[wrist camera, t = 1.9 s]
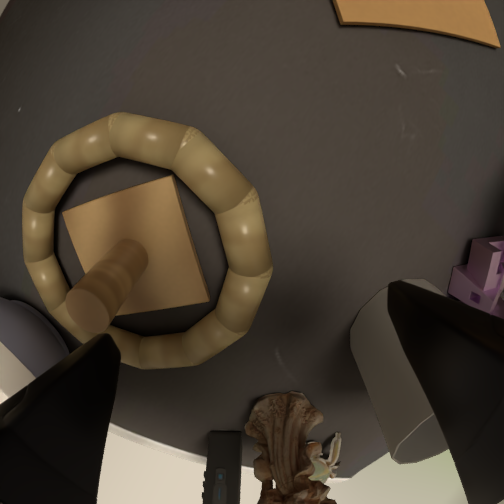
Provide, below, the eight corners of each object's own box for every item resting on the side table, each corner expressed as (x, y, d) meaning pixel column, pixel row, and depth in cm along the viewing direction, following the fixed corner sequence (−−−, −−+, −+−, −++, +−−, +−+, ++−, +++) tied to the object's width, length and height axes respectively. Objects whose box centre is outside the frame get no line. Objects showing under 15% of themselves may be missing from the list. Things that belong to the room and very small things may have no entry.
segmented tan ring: (232, 80, 13) (230, 71, 11) (287, 335, 20) (291, 359, 17) (12, 171, 14) (-10, 179, 12) (92, 357, 21) (82, 376, 19)
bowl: (16, 230, 16) (-70, 290, 7) (137, 379, 22) (105, 472, 13) (-31, 303, 19) (-78, 352, 10) (56, 404, 25) (27, 463, 16)
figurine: (317, 376, 22) (353, 550, 8) (331, 411, 24) (362, 550, 10) (234, 400, 23) (229, 564, 9) (259, 430, 25) (264, 566, 11)
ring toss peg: (174, 173, 15) (128, 201, 9) (210, 296, 18) (195, 371, 12) (66, 210, 16) (1, 248, 10) (108, 312, 19) (70, 375, 13)
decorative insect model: (373, 445, 26) (373, 480, 22) (312, 467, 31) (307, 496, 27) (322, 424, 25) (318, 465, 21) (262, 449, 30) (254, 481, 26)
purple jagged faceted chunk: (458, 238, 17) (510, 274, 11) (509, 232, 17) (555, 261, 11) (437, 326, 20) (472, 372, 15) (488, 311, 20) (522, 348, 14)
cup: (412, 256, 17) (503, 348, 8) (454, 312, 20) (518, 391, 10) (327, 338, 20) (364, 457, 11) (384, 376, 22) (422, 467, 13)
